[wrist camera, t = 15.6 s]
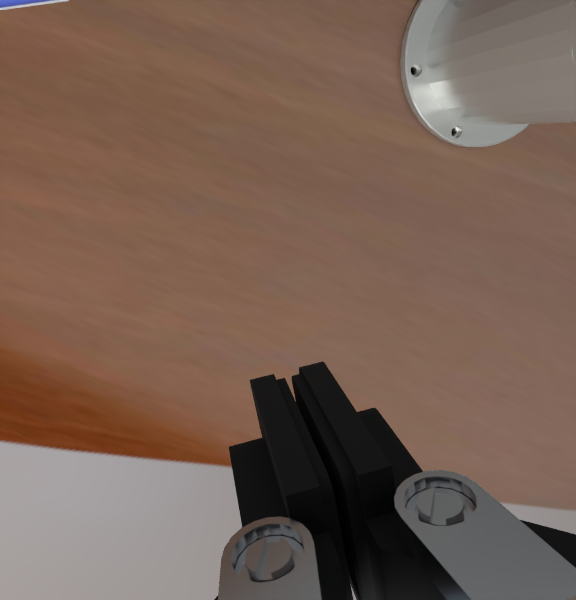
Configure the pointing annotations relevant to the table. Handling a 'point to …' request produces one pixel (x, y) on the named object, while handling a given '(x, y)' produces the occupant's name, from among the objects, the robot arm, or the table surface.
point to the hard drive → (24, 3)
